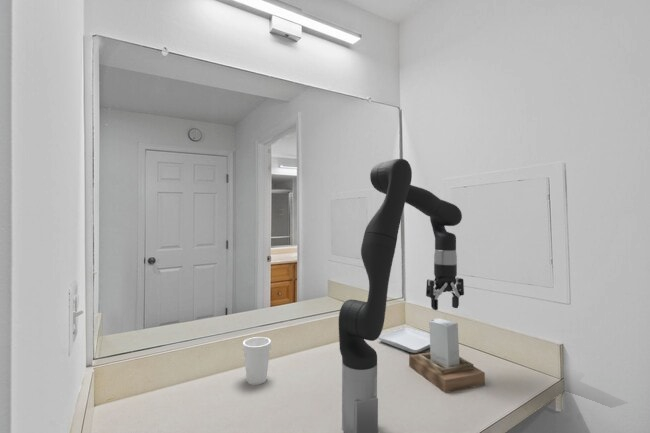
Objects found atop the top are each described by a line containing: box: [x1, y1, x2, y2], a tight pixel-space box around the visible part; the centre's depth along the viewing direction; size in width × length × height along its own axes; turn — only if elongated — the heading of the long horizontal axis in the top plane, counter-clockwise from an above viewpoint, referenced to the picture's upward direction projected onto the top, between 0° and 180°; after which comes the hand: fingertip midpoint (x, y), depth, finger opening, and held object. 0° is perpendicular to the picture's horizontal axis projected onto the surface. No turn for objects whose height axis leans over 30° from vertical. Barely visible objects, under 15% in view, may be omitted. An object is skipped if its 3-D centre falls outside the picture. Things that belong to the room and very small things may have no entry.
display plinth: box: [408, 351, 486, 393], centre depth 119 cm, size 20×16×6 cm
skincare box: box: [428, 317, 460, 368], centre depth 118 cm, size 8×6×15 cm
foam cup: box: [242, 336, 272, 385], centre depth 115 cm, size 10×9×13 cm
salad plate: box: [377, 326, 430, 354], centre depth 148 cm, size 21×21×3 cm
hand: (445, 308), depth 119 cm, fingers open, 8 cm apart
